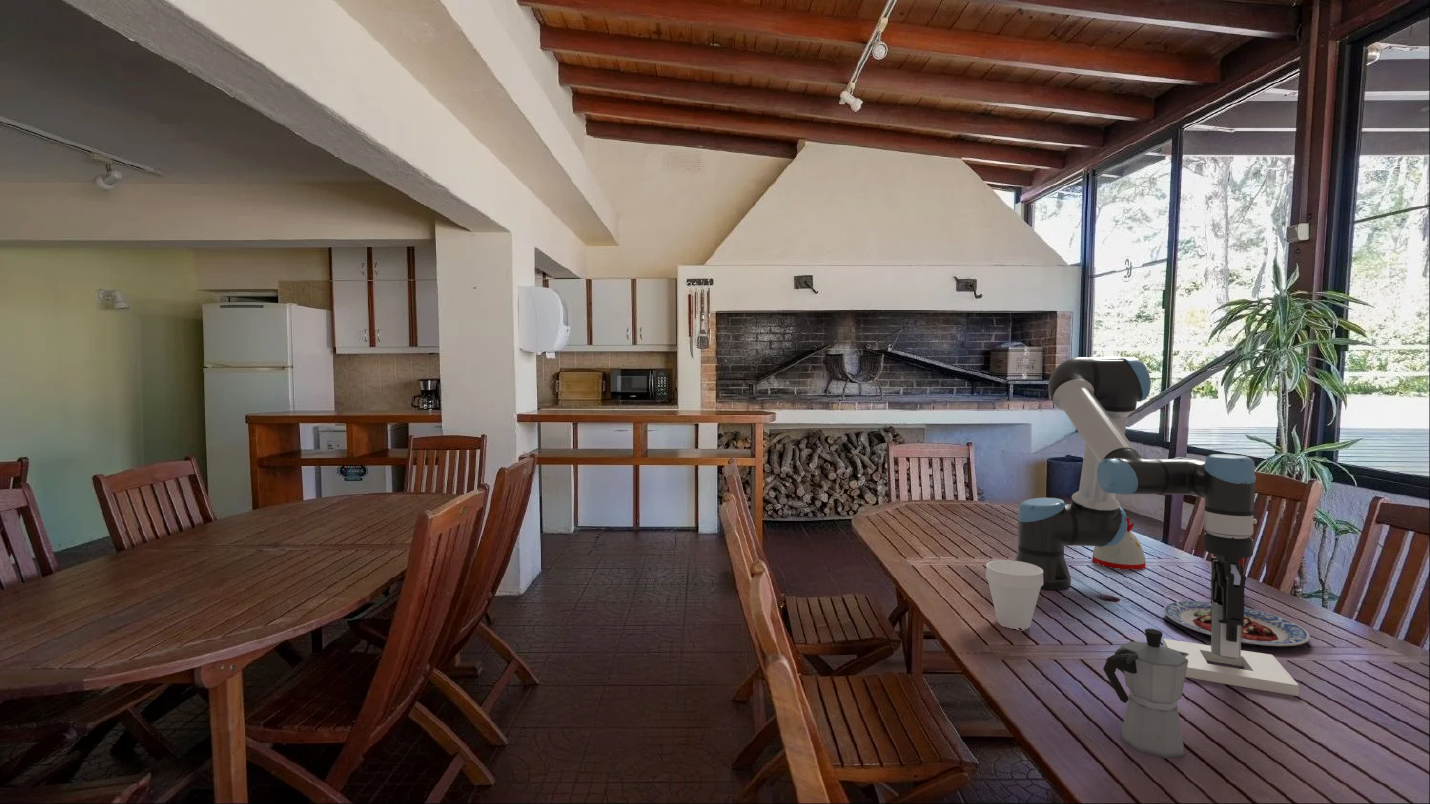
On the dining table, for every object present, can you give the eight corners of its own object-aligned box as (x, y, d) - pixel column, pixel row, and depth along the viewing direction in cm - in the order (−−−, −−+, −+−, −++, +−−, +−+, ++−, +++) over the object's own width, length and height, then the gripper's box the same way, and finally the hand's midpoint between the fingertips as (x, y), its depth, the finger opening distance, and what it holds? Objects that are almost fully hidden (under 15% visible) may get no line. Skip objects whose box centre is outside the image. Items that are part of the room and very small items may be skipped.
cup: (983, 629, 144) (983, 570, 144) (987, 611, 155) (987, 557, 155) (1043, 639, 138) (1043, 578, 138) (1043, 620, 149) (1043, 563, 149)
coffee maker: (1163, 723, 105) (1164, 617, 104) (1212, 754, 96) (1214, 639, 95) (1083, 731, 102) (1084, 623, 102) (1126, 764, 94) (1128, 646, 93)
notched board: (1176, 675, 121) (1177, 665, 121) (1163, 647, 134) (1163, 638, 134) (1298, 696, 113) (1298, 685, 113) (1272, 664, 125) (1272, 654, 125)
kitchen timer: (1129, 572, 185) (1130, 522, 185) (1083, 561, 197) (1083, 514, 197) (1154, 565, 192) (1155, 517, 191) (1108, 555, 204) (1109, 509, 203)
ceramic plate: (1342, 659, 128) (1343, 645, 128) (1200, 649, 133) (1201, 636, 133) (1259, 613, 153) (1260, 601, 153) (1143, 606, 158) (1143, 595, 158)
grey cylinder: (1205, 649, 125) (1206, 599, 125) (1225, 648, 126) (1227, 598, 125) (1225, 659, 121) (1226, 607, 120) (1246, 658, 121) (1248, 606, 121)
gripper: (1268, 546, 113) (1265, 673, 114) (1239, 526, 128) (1236, 637, 129) (1216, 542, 116) (1213, 665, 117) (1194, 522, 132) (1192, 631, 133)
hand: (1225, 650), depth 123 cm, fingers closed on grey cylinder, 4 cm apart
